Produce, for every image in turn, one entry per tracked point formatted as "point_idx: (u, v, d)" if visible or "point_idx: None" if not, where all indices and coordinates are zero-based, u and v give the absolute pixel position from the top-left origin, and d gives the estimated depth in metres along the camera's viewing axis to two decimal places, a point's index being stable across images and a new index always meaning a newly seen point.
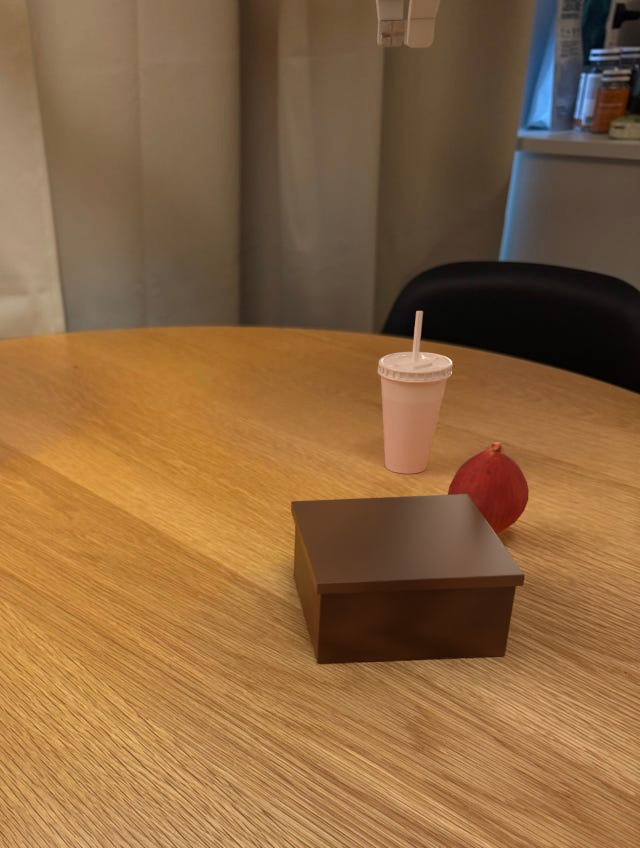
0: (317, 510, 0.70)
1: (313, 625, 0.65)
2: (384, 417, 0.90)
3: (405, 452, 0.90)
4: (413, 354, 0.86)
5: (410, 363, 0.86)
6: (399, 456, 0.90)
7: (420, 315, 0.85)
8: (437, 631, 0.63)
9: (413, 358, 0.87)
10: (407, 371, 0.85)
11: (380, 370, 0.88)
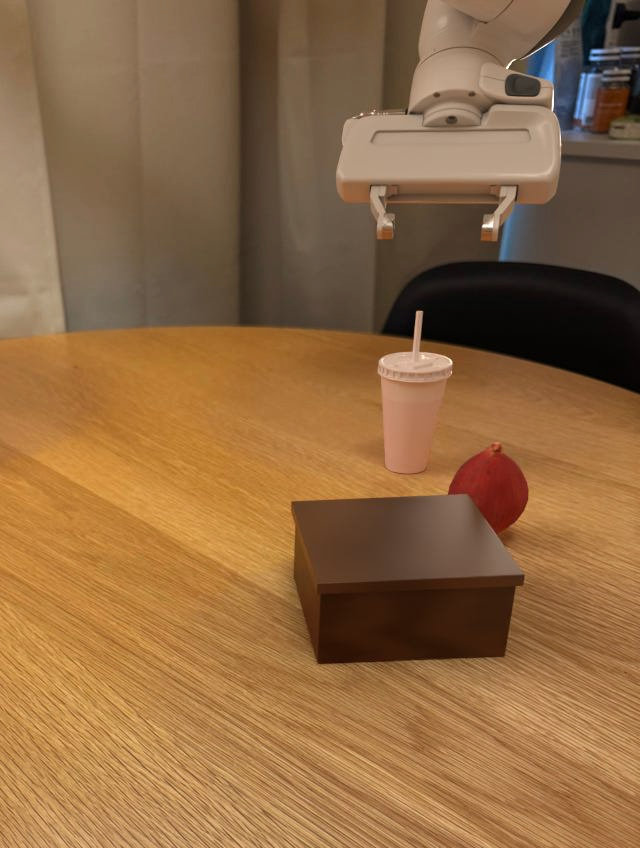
0: (317, 510, 0.70)
1: (313, 625, 0.65)
2: (384, 417, 0.90)
3: (405, 452, 0.90)
4: (413, 354, 0.86)
5: (410, 363, 0.86)
6: (399, 456, 0.90)
7: (420, 315, 0.85)
8: (437, 631, 0.63)
9: (413, 358, 0.87)
10: (407, 371, 0.85)
11: (380, 370, 0.88)
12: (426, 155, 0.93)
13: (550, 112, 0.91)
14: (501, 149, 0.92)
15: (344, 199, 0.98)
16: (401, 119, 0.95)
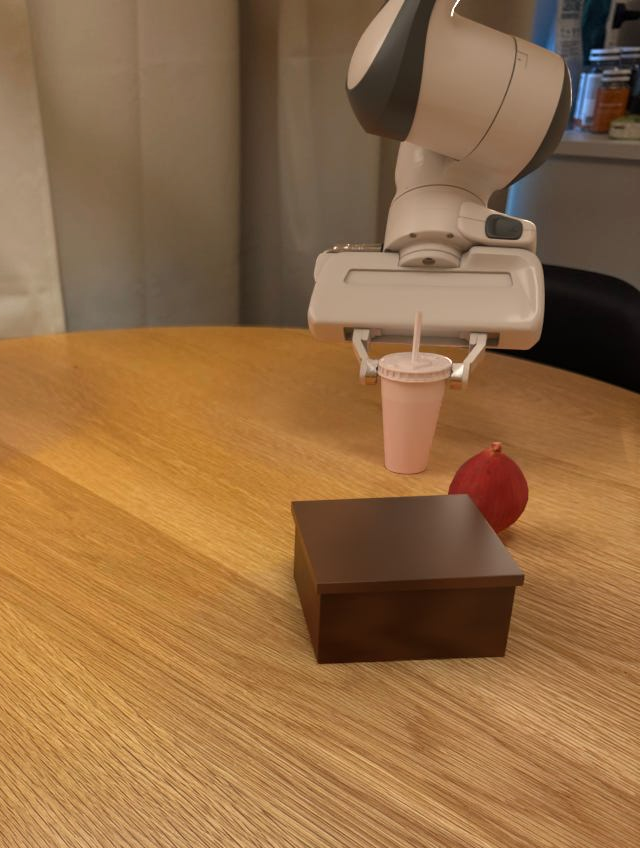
0: (317, 510, 0.70)
1: (313, 625, 0.65)
2: (384, 417, 0.90)
3: (405, 452, 0.90)
4: (413, 354, 0.86)
5: (410, 363, 0.86)
6: (399, 456, 0.90)
7: (420, 315, 0.85)
8: (437, 631, 0.63)
9: (413, 358, 0.87)
10: (407, 371, 0.85)
11: (380, 370, 0.88)
12: (402, 298, 0.88)
13: (533, 256, 0.85)
14: (481, 294, 0.87)
15: (317, 338, 0.92)
16: (376, 257, 0.90)
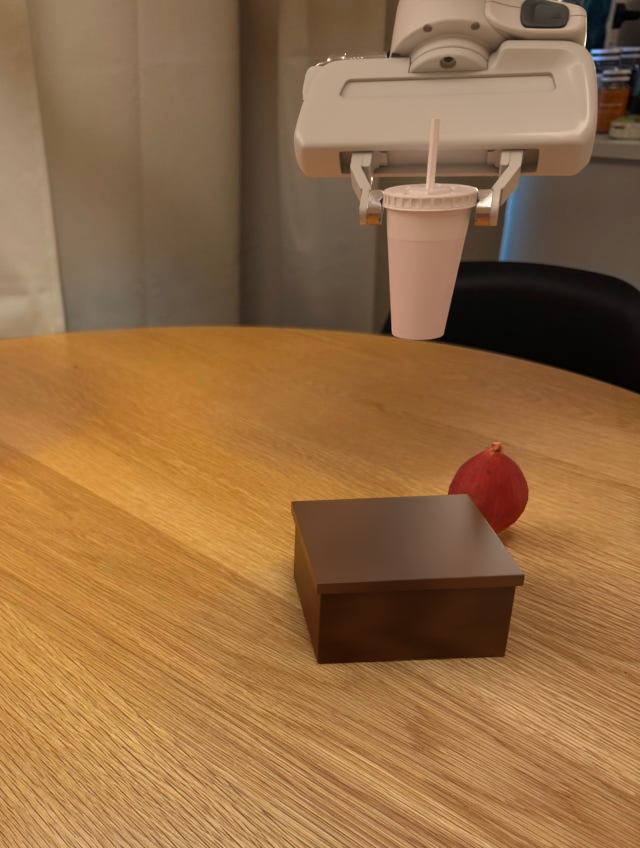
0: (317, 510, 0.70)
1: (313, 625, 0.65)
2: (390, 266, 0.71)
3: (417, 310, 0.71)
4: (428, 178, 0.68)
5: (424, 189, 0.67)
6: (409, 317, 0.71)
7: (437, 123, 0.66)
8: (437, 631, 0.63)
9: (427, 184, 0.68)
10: (420, 197, 0.66)
11: (385, 202, 0.69)
12: (414, 110, 0.69)
13: (582, 49, 0.66)
14: (516, 101, 0.68)
15: (306, 172, 0.73)
16: (380, 64, 0.71)
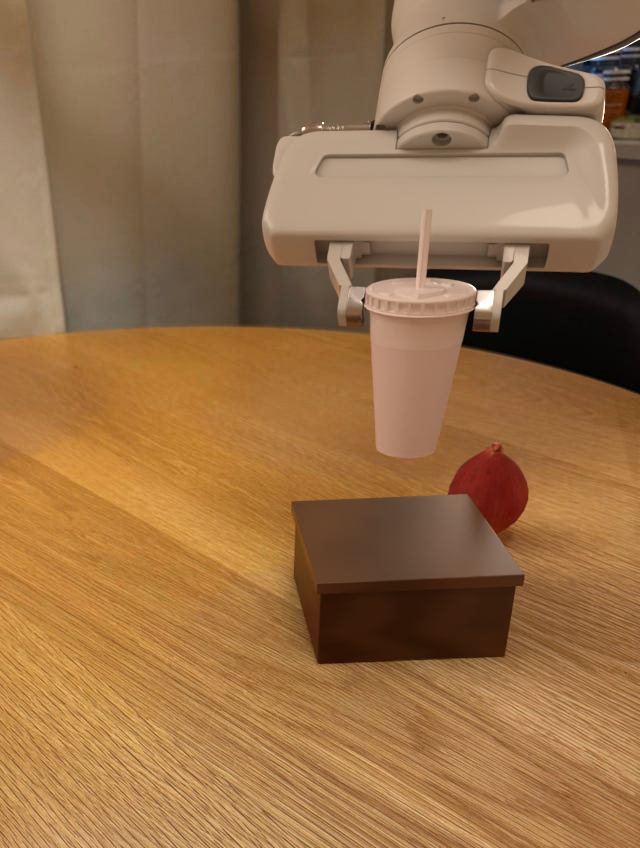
0: (317, 510, 0.70)
1: (313, 625, 0.65)
2: (374, 374, 0.60)
3: (405, 426, 0.60)
4: (417, 277, 0.57)
5: (413, 290, 0.57)
6: (396, 433, 0.61)
7: (428, 215, 0.55)
8: (437, 631, 0.63)
9: (417, 283, 0.57)
10: (408, 301, 0.56)
11: (368, 302, 0.58)
12: (402, 195, 0.59)
13: (600, 127, 0.56)
14: (521, 186, 0.57)
15: (277, 260, 0.63)
16: (363, 137, 0.61)
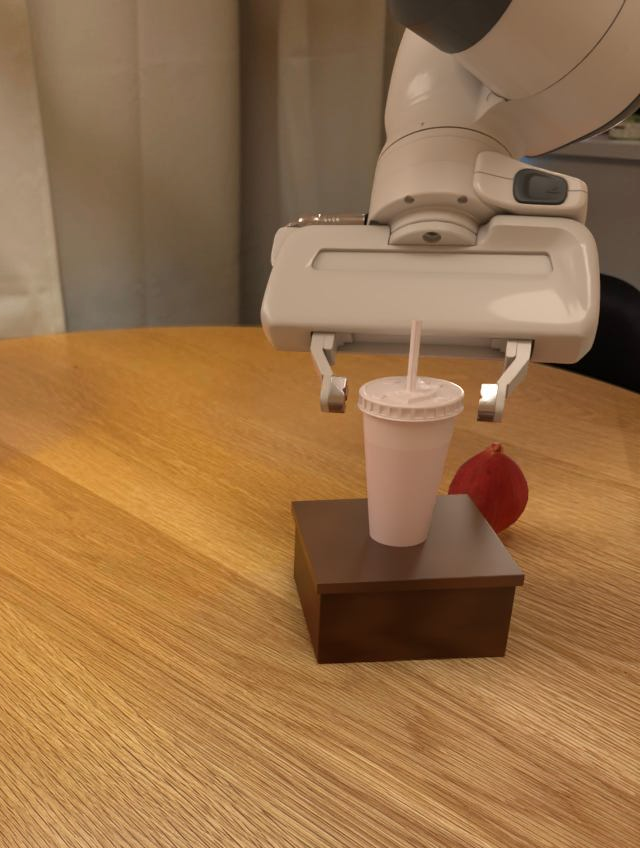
0: (317, 510, 0.70)
1: (313, 625, 0.65)
2: (367, 468, 0.63)
3: (397, 518, 0.63)
4: (408, 381, 0.60)
5: (404, 394, 0.60)
6: (389, 523, 0.64)
7: (418, 325, 0.58)
8: (437, 631, 0.63)
9: (408, 386, 0.60)
10: (399, 406, 0.59)
11: (361, 403, 0.61)
12: (394, 289, 0.62)
13: (583, 229, 0.59)
14: (508, 284, 0.60)
15: (275, 347, 0.66)
16: (357, 232, 0.63)
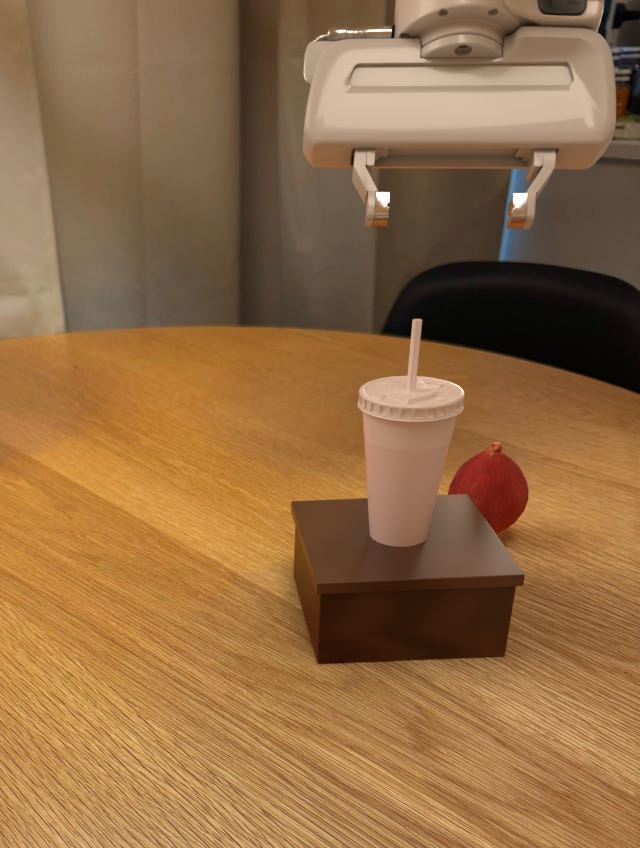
0: (317, 510, 0.70)
1: (313, 625, 0.65)
2: (367, 468, 0.63)
3: (397, 518, 0.63)
4: (408, 381, 0.60)
5: (404, 394, 0.60)
6: (389, 523, 0.64)
7: (418, 325, 0.58)
8: (437, 631, 0.63)
9: (408, 386, 0.60)
10: (399, 406, 0.59)
11: (361, 403, 0.61)
12: (430, 103, 0.67)
13: (600, 38, 0.65)
14: (534, 95, 0.66)
15: (313, 164, 0.70)
16: (390, 46, 0.67)
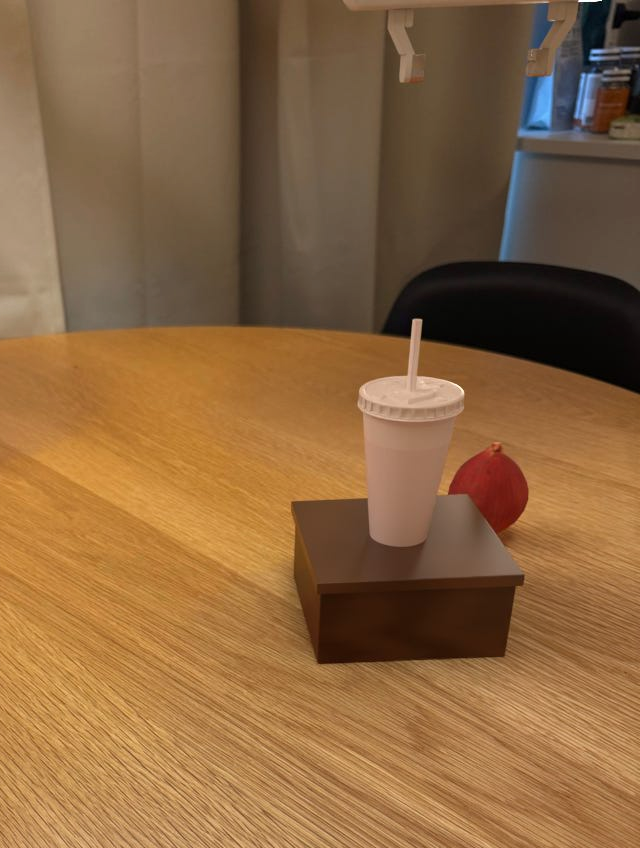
0: (317, 510, 0.70)
1: (313, 625, 0.65)
2: (367, 468, 0.63)
3: (397, 518, 0.63)
4: (408, 381, 0.60)
5: (404, 394, 0.60)
6: (389, 523, 0.64)
7: (418, 325, 0.58)
8: (437, 631, 0.63)
9: (408, 386, 0.60)
10: (399, 406, 0.59)
11: (361, 403, 0.61)
12: None
13: None
14: None
15: None
16: None
